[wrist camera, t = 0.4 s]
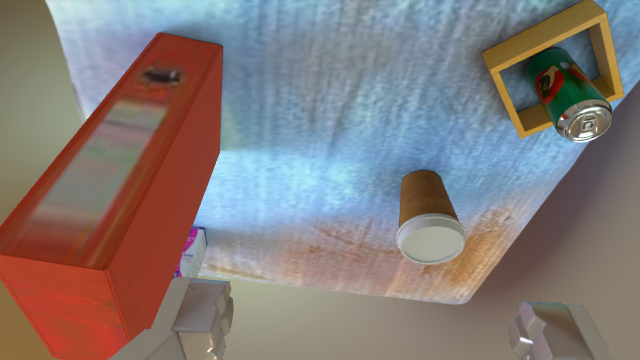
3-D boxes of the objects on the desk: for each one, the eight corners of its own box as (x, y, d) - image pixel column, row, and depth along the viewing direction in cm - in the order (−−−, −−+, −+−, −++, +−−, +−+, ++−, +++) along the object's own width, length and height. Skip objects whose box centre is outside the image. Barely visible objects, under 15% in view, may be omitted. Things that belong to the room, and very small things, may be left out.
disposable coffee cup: (464, 170, 61) (482, 233, 52) (434, 210, 67) (446, 271, 59) (406, 155, 59) (415, 217, 51) (381, 196, 66) (385, 258, 57)
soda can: (523, 88, 51) (558, 150, 42) (523, 52, 48) (561, 111, 39) (567, 78, 50) (612, 139, 41) (571, 40, 46) (621, 98, 38)
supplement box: (204, 226, 74) (186, 281, 66) (207, 245, 78) (191, 299, 70) (173, 223, 74) (150, 277, 66) (177, 242, 78) (157, 296, 70)
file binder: (165, 141, 60) (52, 359, 37) (155, 31, 48) (-21, 252, 25) (220, 151, 61) (141, 370, 38) (223, 45, 49) (111, 272, 26)
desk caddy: (481, 53, 48) (489, 69, 45) (589, -4, 43) (606, 11, 40) (511, 120, 54) (520, 139, 51) (608, 78, 49) (624, 96, 46)
